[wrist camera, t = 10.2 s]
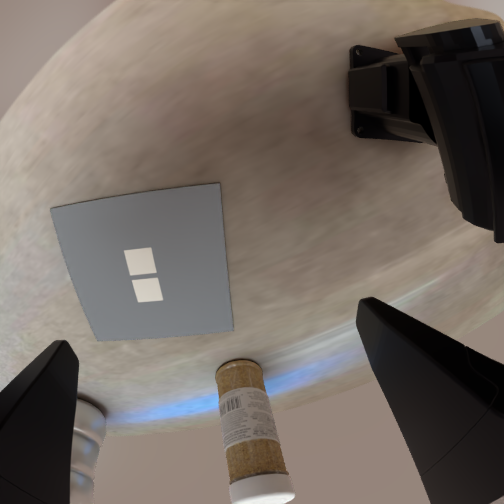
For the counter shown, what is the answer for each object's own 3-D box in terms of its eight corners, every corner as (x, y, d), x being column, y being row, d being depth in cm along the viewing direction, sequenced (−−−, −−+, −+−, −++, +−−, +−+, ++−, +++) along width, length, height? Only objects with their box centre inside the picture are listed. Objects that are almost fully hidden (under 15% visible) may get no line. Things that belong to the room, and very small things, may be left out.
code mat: (219, 182, 18) (220, 183, 18) (233, 329, 24) (233, 330, 24) (51, 208, 17) (49, 209, 17) (97, 339, 22) (97, 341, 22)
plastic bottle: (104, 426, 29) (94, 565, 11) (55, 407, 26) (31, 545, 9) (113, 404, 27) (102, 569, 9) (58, 382, 24) (25, 545, 7)
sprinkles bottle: (229, 392, 28) (249, 513, 16) (205, 369, 26) (219, 506, 14) (269, 376, 27) (304, 499, 16) (249, 350, 25) (283, 492, 13)
